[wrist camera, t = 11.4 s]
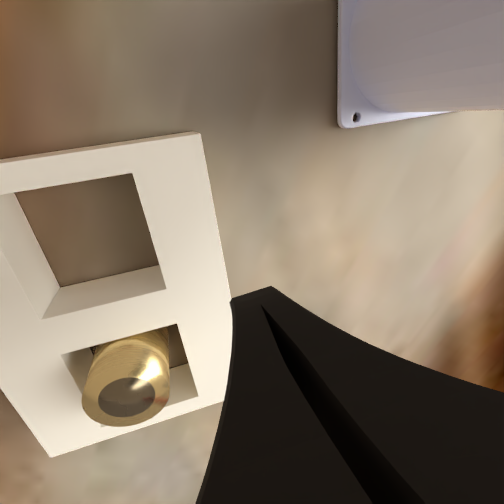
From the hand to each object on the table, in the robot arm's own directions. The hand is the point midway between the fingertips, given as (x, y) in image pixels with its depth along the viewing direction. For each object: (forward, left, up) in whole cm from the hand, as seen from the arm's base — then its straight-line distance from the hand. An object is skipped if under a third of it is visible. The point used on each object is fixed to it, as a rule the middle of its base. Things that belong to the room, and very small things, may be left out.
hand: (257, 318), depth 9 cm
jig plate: (+6, +3, -9) cm, 12 cm away
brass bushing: (+6, +6, -10) cm, 13 cm away
